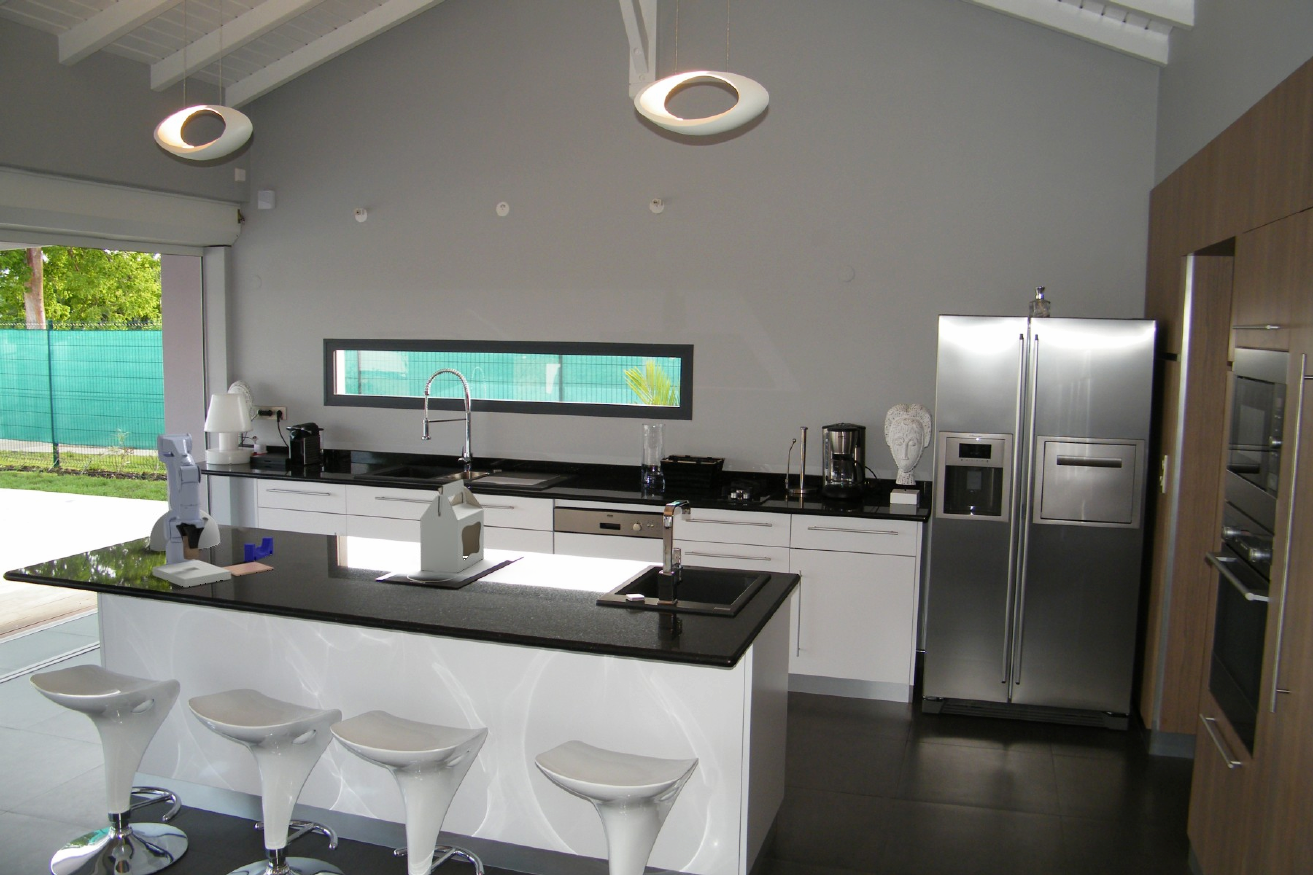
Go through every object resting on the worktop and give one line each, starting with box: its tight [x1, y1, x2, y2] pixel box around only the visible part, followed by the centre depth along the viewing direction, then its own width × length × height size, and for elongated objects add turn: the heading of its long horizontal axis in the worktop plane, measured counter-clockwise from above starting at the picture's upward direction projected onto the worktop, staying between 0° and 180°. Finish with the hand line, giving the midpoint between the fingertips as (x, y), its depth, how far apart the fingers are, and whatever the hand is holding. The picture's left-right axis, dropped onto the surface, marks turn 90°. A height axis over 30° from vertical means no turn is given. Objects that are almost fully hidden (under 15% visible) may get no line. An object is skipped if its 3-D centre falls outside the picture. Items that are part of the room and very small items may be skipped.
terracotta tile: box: [221, 561, 275, 577], centre depth 300 cm, size 12×12×1 cm
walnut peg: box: [183, 536, 200, 560], centre depth 289 cm, size 3×3×7 cm
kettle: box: [149, 495, 221, 552], centre depth 333 cm, size 25×23×23 cm
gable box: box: [419, 478, 485, 573], centre depth 311 cm, size 22×13×28 cm, turn 169°
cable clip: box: [243, 536, 274, 562], centre depth 317 cm, size 12×4×6 cm, turn 171°
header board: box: [152, 559, 232, 588], centre depth 290 cm, size 22×14×2 cm, turn 51°
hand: (190, 547), depth 289 cm, fingers closed on walnut peg, 3 cm apart
